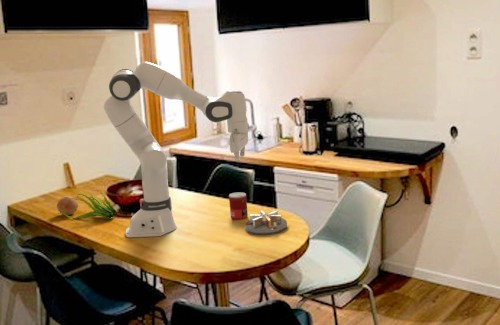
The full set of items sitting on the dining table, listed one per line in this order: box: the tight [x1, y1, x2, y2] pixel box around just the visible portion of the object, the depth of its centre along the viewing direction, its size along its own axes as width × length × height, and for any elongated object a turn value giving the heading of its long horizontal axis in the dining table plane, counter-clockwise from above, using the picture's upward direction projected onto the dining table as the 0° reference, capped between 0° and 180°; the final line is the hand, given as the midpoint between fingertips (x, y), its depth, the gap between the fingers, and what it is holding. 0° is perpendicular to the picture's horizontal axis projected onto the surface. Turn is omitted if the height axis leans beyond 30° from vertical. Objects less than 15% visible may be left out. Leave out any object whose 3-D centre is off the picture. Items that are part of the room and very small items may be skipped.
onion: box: [56, 194, 79, 216], centre depth 266 cm, size 10×10×10 cm
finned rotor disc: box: [249, 210, 282, 228], centre depth 226 cm, size 14×13×4 cm
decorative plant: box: [53, 191, 117, 220], centre depth 257 cm, size 18×30×15 cm, turn 49°
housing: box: [244, 218, 288, 236], centre depth 226 cm, size 18×18×4 cm
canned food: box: [228, 191, 249, 221], centre depth 242 cm, size 8×8×11 cm
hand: (240, 158), depth 230 cm, fingers open, 8 cm apart
